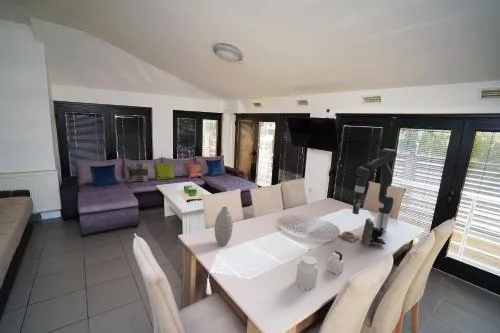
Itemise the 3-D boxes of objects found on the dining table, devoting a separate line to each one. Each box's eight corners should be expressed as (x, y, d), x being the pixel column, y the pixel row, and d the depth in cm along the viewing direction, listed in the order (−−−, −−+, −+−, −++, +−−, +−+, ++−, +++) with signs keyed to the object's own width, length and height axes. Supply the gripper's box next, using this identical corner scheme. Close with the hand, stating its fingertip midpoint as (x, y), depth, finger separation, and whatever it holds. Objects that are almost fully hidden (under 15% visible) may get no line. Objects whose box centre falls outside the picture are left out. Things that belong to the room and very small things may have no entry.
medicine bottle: (332, 265, 153) (335, 248, 151) (342, 271, 148) (345, 254, 146) (326, 269, 149) (329, 252, 147) (336, 275, 144) (339, 257, 141)
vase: (215, 239, 175) (216, 203, 170) (231, 240, 176) (234, 204, 170) (212, 248, 163) (214, 210, 158) (230, 249, 163) (233, 211, 158)
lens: (353, 211, 203) (355, 200, 201) (359, 213, 199) (361, 202, 197) (351, 212, 199) (352, 201, 198) (356, 214, 196) (359, 203, 194)
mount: (345, 232, 203) (345, 229, 202) (358, 238, 194) (359, 234, 193) (338, 236, 195) (338, 232, 194) (352, 242, 186) (352, 238, 185)
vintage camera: (385, 249, 180) (391, 225, 177) (364, 245, 183) (369, 221, 180) (381, 243, 190) (386, 220, 186) (361, 239, 193) (366, 217, 189)
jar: (305, 274, 141) (308, 252, 139) (318, 283, 134) (322, 260, 131) (292, 282, 134) (295, 258, 131) (306, 292, 127) (309, 267, 124)
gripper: (358, 188, 203) (355, 207, 206) (351, 190, 194) (347, 210, 197) (367, 191, 197) (363, 210, 201) (360, 193, 188) (356, 213, 191)
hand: (355, 209), depth 199 cm, fingers closed on lens, 5 cm apart
